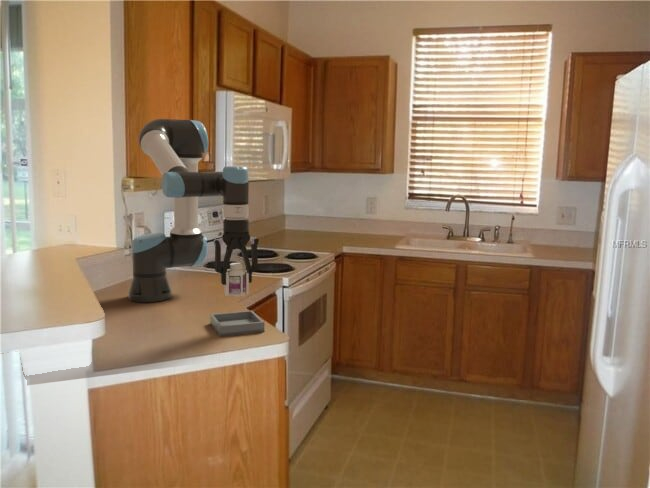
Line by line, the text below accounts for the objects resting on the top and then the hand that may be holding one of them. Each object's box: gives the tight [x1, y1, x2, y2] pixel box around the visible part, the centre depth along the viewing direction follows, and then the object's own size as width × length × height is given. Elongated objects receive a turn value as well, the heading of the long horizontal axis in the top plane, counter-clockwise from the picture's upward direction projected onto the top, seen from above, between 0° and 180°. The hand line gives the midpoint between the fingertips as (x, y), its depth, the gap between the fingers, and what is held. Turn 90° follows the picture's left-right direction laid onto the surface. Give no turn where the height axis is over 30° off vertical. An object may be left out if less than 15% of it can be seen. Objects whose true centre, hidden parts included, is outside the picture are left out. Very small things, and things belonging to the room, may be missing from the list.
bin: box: [209, 310, 265, 337], centre depth 173 cm, size 14×14×3 cm
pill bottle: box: [227, 262, 247, 298], centre depth 171 cm, size 5×5×10 cm
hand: (236, 293), depth 172 cm, fingers closed on pill bottle, 5 cm apart
